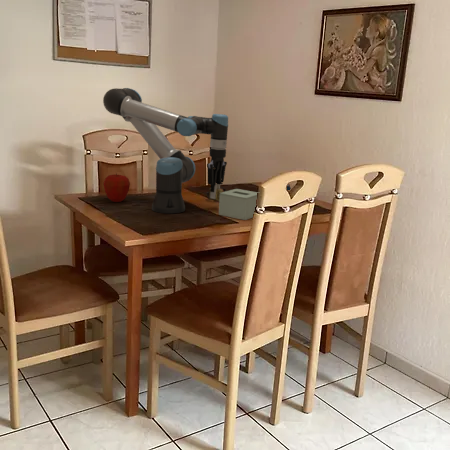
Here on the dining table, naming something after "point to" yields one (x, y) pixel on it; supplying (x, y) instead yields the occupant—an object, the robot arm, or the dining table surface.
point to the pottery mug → (220, 189)
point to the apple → (116, 187)
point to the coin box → (237, 204)
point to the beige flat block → (216, 194)
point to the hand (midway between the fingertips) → (214, 197)
